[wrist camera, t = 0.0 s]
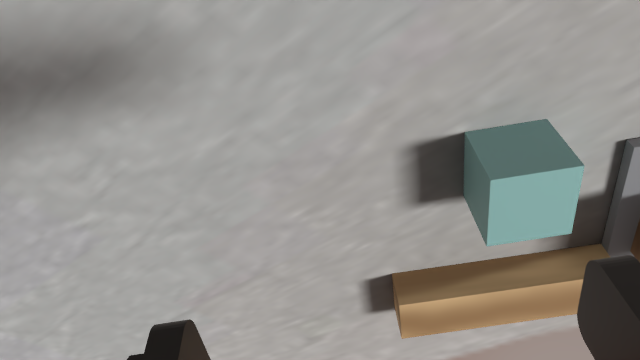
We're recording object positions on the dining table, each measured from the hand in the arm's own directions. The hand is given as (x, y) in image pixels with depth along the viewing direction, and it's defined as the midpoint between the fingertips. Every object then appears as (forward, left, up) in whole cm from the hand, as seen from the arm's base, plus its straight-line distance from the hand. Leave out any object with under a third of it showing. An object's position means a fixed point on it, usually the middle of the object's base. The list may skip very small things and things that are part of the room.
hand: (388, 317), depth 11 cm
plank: (+20, +9, -18) cm, 28 cm away
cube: (+10, +9, -17) cm, 22 cm away
